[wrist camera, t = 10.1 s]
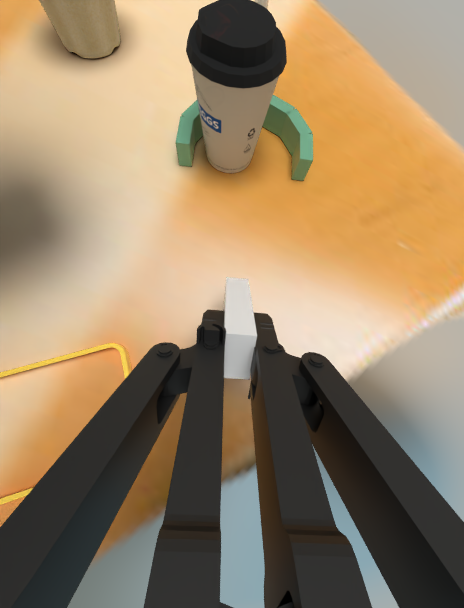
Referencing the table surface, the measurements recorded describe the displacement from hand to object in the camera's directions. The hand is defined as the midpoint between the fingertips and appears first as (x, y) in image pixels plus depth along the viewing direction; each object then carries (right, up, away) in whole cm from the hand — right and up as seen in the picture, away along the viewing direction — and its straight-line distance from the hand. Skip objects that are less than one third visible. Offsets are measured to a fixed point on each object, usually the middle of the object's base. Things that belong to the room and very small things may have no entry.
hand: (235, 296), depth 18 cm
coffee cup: (-1, +15, +8) cm, 17 cm away
